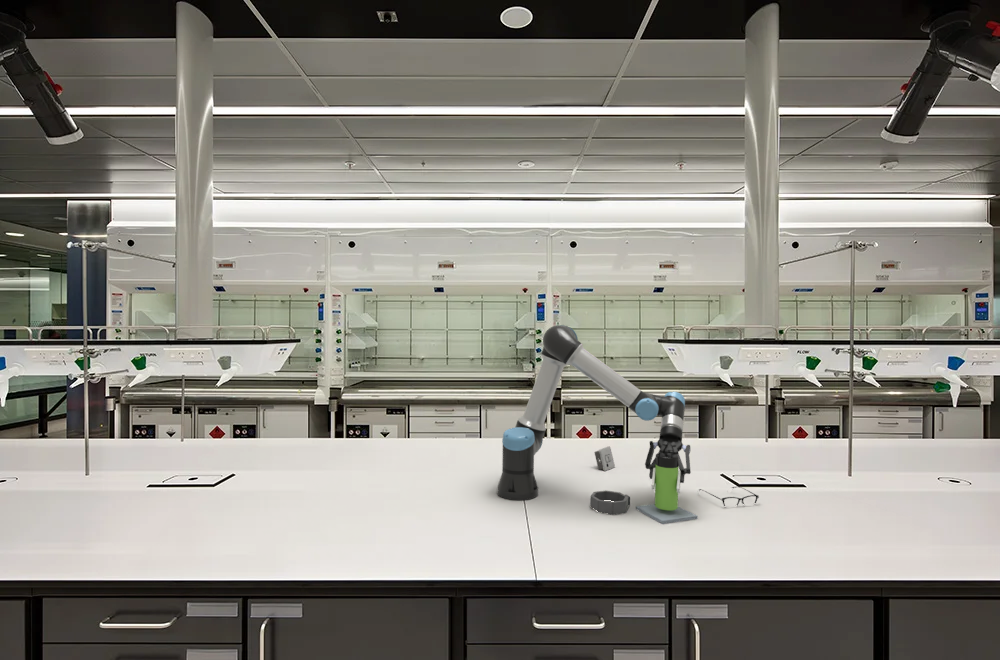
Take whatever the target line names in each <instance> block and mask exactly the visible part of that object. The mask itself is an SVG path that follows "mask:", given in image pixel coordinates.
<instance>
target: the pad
mask: <svg viewBox="0 0 1000 660" xmlns="http://www.w3.org/2000/svg"><path fill="white" fill-rule="evenodd" d="M636 509H638V510H639V511H638V510H637V511H638V512H640V513H642V514H644V515H645V516H647V517H649V518H650V519H652V520H655V521H656V522H658V523H660V524H662V525H665V524H672V523H678V522H685V521H692V520H697V519H698V518H699V516H698V515H697V514H696V513H695V514H694V513H693V512H691V511H689V510H687V509H685V508H682V507H680V506H679V505H678V508H677V509H676V510H671V511H669V510H662V509H659V508H657V507H656V506H655V503H651V504H650V503H649V504H645V505H644V504H642V505H636V506H635V510H636Z"/></svg>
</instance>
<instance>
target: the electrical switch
mask: <svg viewBox="0 0 1000 660" xmlns="http://www.w3.org/2000/svg"><path fill="white" fill-rule="evenodd" d="M594 456H595V460H596V465H597V469H598V470H603V471H604V472H606V471H609V470H611V469H613V468H615V466H616V465H615V461H614V457H613V452H612V448H611V446H605V447H602V448H600V449H598V450H597V451H594Z"/></svg>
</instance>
